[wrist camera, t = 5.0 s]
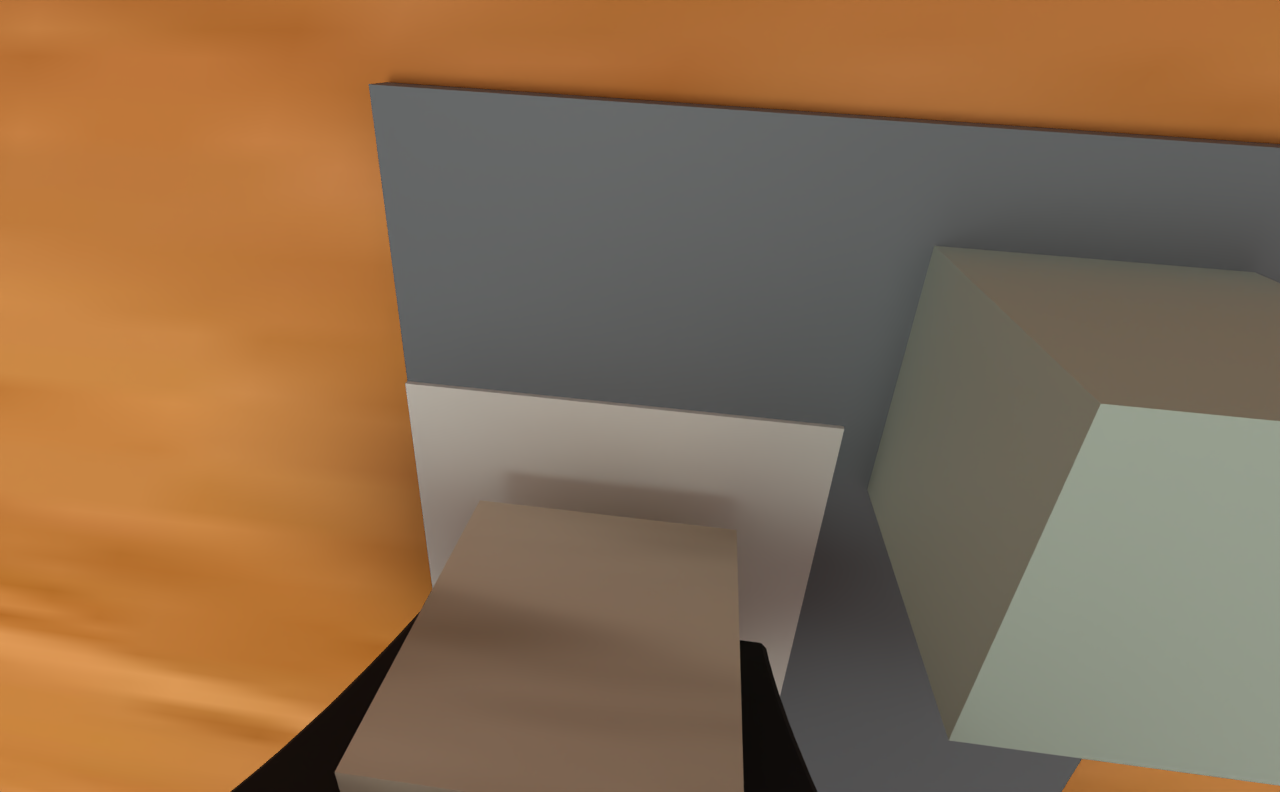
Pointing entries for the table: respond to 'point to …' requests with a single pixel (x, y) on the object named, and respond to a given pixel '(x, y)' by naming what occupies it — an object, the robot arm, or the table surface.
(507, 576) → the walnut block
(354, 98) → the table surface
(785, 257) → the board
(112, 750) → the table surface
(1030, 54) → the table surface
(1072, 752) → the sage block
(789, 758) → the robot arm
